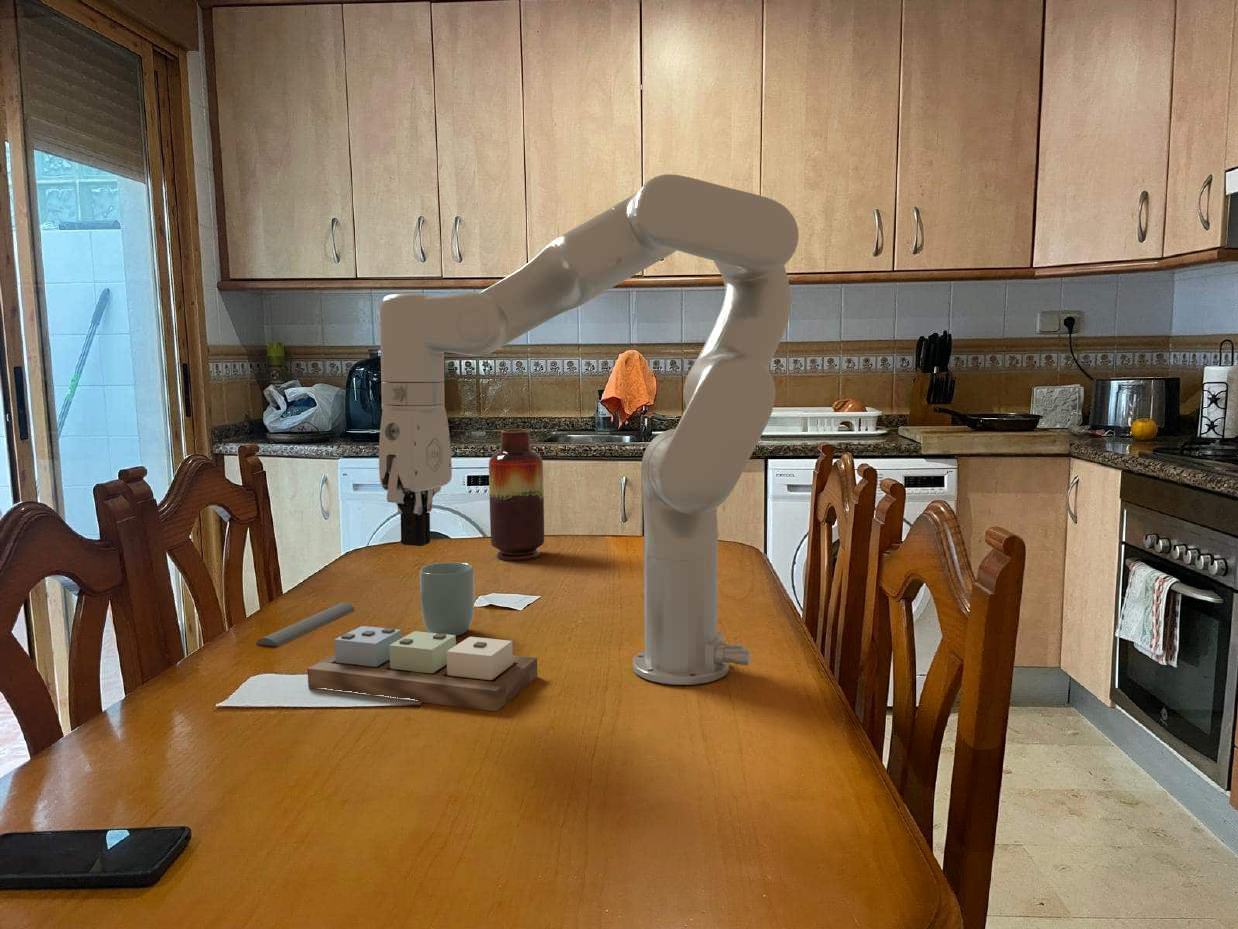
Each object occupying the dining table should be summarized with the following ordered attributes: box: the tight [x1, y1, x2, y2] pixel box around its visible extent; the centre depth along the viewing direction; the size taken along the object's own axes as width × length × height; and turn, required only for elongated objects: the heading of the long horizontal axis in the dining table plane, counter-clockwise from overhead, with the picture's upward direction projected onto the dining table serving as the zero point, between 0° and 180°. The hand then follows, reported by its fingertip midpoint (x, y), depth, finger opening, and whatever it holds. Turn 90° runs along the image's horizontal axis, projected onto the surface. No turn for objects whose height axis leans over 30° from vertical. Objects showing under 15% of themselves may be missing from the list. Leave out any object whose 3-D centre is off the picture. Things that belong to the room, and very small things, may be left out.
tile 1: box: [447, 636, 514, 681], centre depth 111 cm, size 6×6×3 cm
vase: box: [488, 428, 545, 562], centre depth 185 cm, size 11×11×26 cm
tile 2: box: [389, 630, 457, 674], centre depth 114 cm, size 6×6×3 cm
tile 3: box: [334, 625, 403, 668], centre depth 116 cm, size 6×6×3 cm
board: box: [306, 653, 538, 712], centre depth 114 cm, size 26×12×2 cm, turn 72°
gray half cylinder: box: [255, 601, 356, 648], centre depth 138 cm, size 4×20×2 cm, turn 163°
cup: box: [419, 561, 475, 637], centre depth 134 cm, size 8×8×10 cm
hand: (415, 544), depth 112 cm, fingers closed
